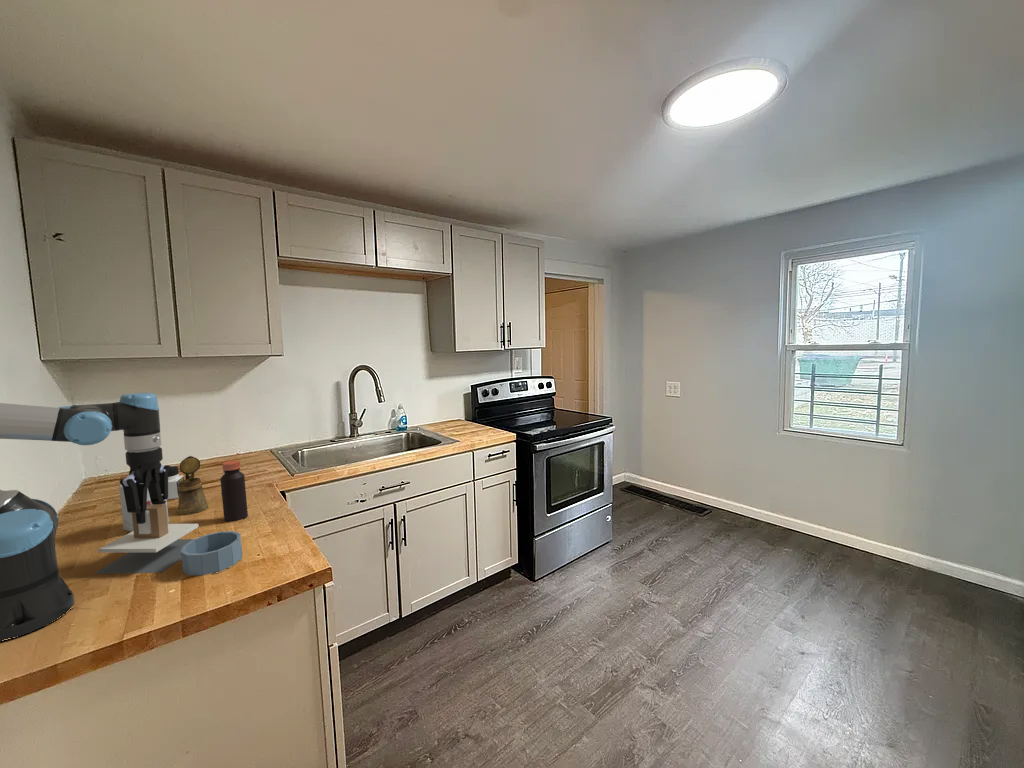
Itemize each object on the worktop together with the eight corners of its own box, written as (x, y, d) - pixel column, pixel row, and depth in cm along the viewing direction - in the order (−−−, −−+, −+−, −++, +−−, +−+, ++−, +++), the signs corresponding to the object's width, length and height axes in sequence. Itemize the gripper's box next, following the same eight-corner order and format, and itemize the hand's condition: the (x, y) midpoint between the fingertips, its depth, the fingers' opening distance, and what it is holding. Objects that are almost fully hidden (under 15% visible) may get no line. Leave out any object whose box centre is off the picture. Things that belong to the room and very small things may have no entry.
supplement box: (136, 535, 129) (130, 490, 127) (122, 529, 133) (117, 485, 131) (170, 523, 137) (165, 480, 135) (156, 518, 141) (152, 476, 139)
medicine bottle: (178, 498, 158) (175, 468, 157) (155, 501, 156) (152, 470, 154) (185, 492, 165) (182, 463, 164) (163, 494, 162) (160, 465, 161)
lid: (156, 552, 108) (153, 517, 107) (98, 552, 108) (95, 518, 107) (198, 526, 123) (196, 496, 122) (147, 526, 123) (145, 496, 122)
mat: (162, 574, 108) (162, 572, 107) (92, 575, 107) (92, 573, 107) (211, 540, 125) (210, 538, 125) (151, 541, 125) (151, 539, 125)
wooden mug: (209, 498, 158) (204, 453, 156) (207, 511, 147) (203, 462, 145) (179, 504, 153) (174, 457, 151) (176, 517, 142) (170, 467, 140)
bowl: (221, 576, 106) (219, 554, 106) (171, 577, 106) (168, 555, 105) (252, 550, 119) (250, 530, 119) (207, 551, 119) (205, 531, 118)
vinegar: (236, 523, 136) (230, 466, 134) (219, 522, 138) (213, 464, 135) (252, 515, 143) (248, 459, 141) (236, 513, 144) (231, 458, 142)
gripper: (131, 457, 105) (139, 544, 107) (180, 441, 121) (186, 518, 123) (101, 457, 105) (110, 544, 107) (154, 441, 121) (161, 518, 123)
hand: (151, 530), depth 115 cm, fingers closed on lid, 3 cm apart
